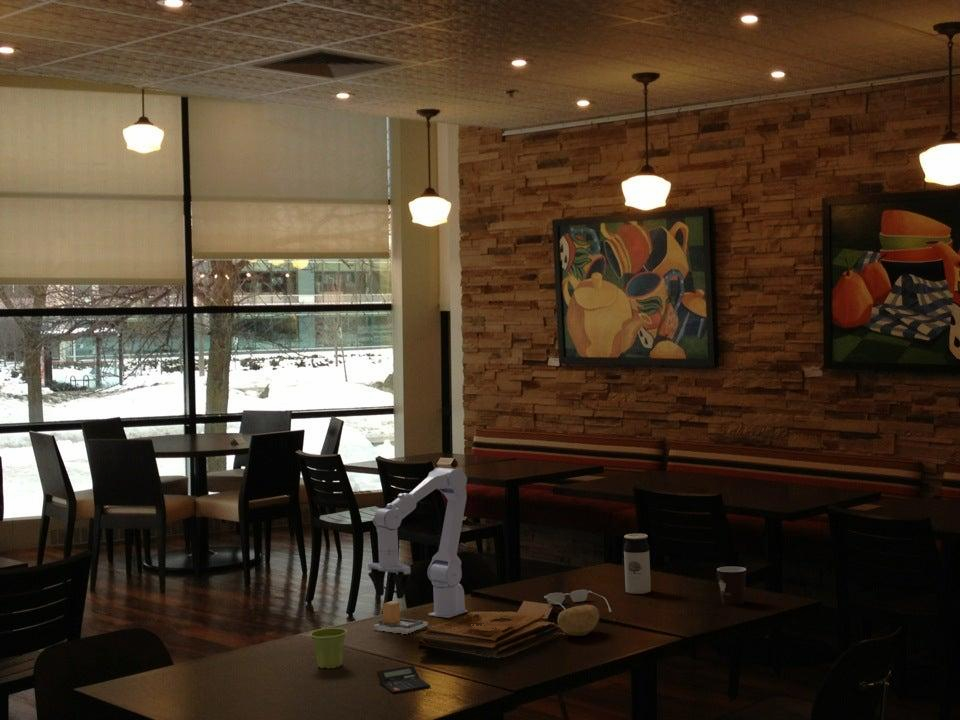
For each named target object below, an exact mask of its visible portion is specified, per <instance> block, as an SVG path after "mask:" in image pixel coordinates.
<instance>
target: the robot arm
mask: <svg viewBox="0 0 960 720" xmlns="http://www.w3.org/2000/svg"><path fill="white" fill-rule="evenodd" d="M467 482H468V477H467V475H466V474H465V473H464V471H463V470H462V469H461V468H449V467H442V466H441V467H440V466H438V467H435V468H434V469H433V470H431V471H429V472H428V474H427V477H426V478H424V479H423V480H422V481H421V482H420V483H419V484H418V485H417V486H415V488H413V490H412V491H410V492H409V493H407V492H404V493H403V492H400V493H399V494H397V498H395V499H394V500H392V502H390V503H387V504H386V506H385V507H384V508H383V507H381V508H379V509H377V511H376V512H375V514H374V517H373V518H372V522H373V523H372V524H373V525H374V526H375V528H376V533H377V548H378V549H377V550H378V562H370V563H368V564H367V569H368V571H370V572H368V574H367V575H368V577H369V578H370V579H371V580H370V581H372V584H373V586H374V589H375V592H376V596H377V597H381V596H384V594H385V577H386V573H395V574H393V575H392V578H393V580H394V584H395V591H396V598H397V600H398V599H399V600H400V599H402V598H404V597H405V591H406V588H407V584H408V582H409V579H410V577H411V576H412V575H411V572H412V571H411V566H409V565H404V564H401V563H399V537H398V528H399V527H400V526H401V524H402V520H403V519H405V517H407V516H408V515H410V514H411V513H412V512H413V511H414V510H415V509H416V508H417V503H418V502H419V501H420V500H422V499H424V498H425V497H426V496H428V495H429V494H431V493H432V492H433V491H434V490H438V491H439V492H440V493H442V494H443V495H444V497H445V498H446V499H447V505H446V509H445V514H444V520H443V526H442V530H441V531H442V532H441V536H440V542H439V547H438V548H439V549H438V551H437V552H436V553H435V554H434V555H433V556H432V559H431V562H430V564H429V565H428V568H427V570H426V571H427V574H426V575H427V577H428V579H429V580H430V582H431V585H433V586H432V587H433V588H432V589H433V591H432V592H433V610H434V611H433V612H429V613H428V614H427V615H428V616H431V617H439V618H447V619H449V618H452V617H456V616H458V615H462V614H464V613H467V612H468V609H466V603H465V589H464V587H463V585H462V584H461V583H460V582H461V579H462V575H463V572H462V560H461V559H460V557H459V556H458V547H459V542H460V537H461V532H462V526H463V521H464V514H465V508H466V504H467V499H468V498H467V497H468V496H467Z"/></svg>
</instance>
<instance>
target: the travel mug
mask: <svg viewBox="0 0 960 720" xmlns="http://www.w3.org/2000/svg"><path fill="white" fill-rule="evenodd" d="M623 537H624V539H625V542H624V545H623V556H624V557H623V561H624V563H623V564H624V580H625V581H624V585H625V592H626V593H628V594H632V595H643V594H649V593H650V592H651V588H652V585H651V565H650V564H651V563H650V562H651V561H650V545H649V543H648V542H647V541H648V537H649V535H647V534H646V533H628V534H625V535H624V536H623Z"/></svg>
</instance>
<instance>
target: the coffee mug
mask: <svg viewBox="0 0 960 720" xmlns="http://www.w3.org/2000/svg"><path fill="white" fill-rule="evenodd" d="M746 577H747V567H742V566H723V567H722V566H720V567H718V568H716V571H715V579H716V582H717V583H718V585H719V591H720V596H721V597H720V598H721V603H722V604H725V605H732V606H736V605H742V604H744V603H745V591H746V590H745V589H746Z"/></svg>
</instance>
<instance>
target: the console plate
mask: <svg viewBox="0 0 960 720" xmlns="http://www.w3.org/2000/svg"><path fill="white" fill-rule="evenodd" d="M427 625H428V626H429V621H424V620H421V619H420V620H415V619H410V618H409V619H408V618H403V617H400V621H398V622H395V623H385V622H383V619H379V620H378V623H376V624H373V631H375V630H377V631H376V632H382V631H385V632H384V633H389V632H393V633H392V634H396V633H401V634H400V635H403V634H407V635H409V634H408V633H410V634H412V633H411V632H413V633H415V632H414V631H416V630H419V629H421V628H422V627H424V626H427ZM421 630H422V629H421ZM419 631H420V630H419ZM416 632H417V631H416Z"/></svg>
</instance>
